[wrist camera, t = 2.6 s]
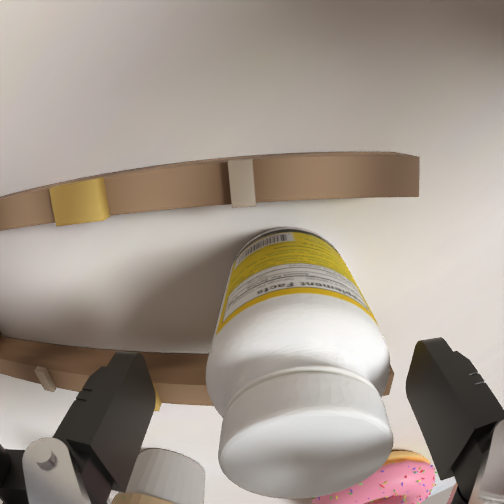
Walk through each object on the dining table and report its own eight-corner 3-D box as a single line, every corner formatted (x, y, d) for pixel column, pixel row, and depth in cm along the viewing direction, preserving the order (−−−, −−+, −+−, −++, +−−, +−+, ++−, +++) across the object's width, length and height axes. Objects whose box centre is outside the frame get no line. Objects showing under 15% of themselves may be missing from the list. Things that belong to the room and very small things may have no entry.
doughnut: (409, 490, 23) (417, 520, 19) (305, 505, 24) (306, 539, 20) (445, 430, 19) (462, 468, 15) (314, 452, 20) (318, 497, 16)
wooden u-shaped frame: (395, 150, 13) (426, 157, 10) (377, 365, 17) (391, 403, 14) (-49, 210, 15) (-78, 223, 12) (-1, 350, 19) (-22, 372, 16)
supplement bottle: (315, 340, 16) (342, 515, 7) (215, 307, 16) (164, 484, 7) (364, 248, 14) (467, 406, 5) (254, 205, 14) (222, 347, 5)
